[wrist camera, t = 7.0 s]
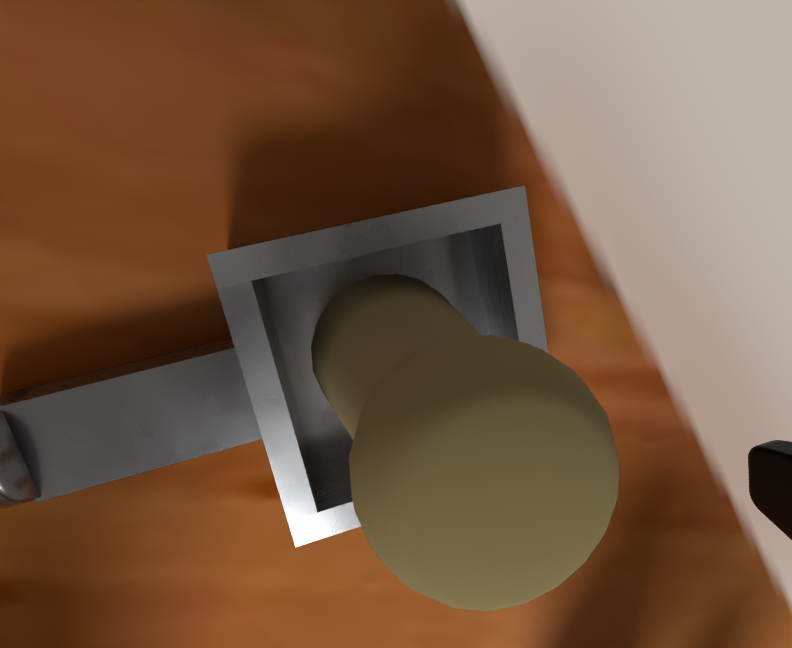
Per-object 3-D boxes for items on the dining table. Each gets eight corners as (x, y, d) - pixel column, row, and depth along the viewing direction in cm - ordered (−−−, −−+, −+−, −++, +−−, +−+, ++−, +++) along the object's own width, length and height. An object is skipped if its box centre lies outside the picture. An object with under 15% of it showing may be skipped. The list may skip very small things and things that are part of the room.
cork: (279, 327, 17) (254, 480, 7) (418, 243, 18) (604, 261, 7) (361, 452, 19) (448, 736, 8) (487, 372, 19) (722, 543, 9)
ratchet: (506, 411, 22) (563, 461, 17) (78, 539, 19) (6, 639, 14) (470, 196, 20) (524, 185, 15) (-23, 304, 17) (-149, 332, 12)
